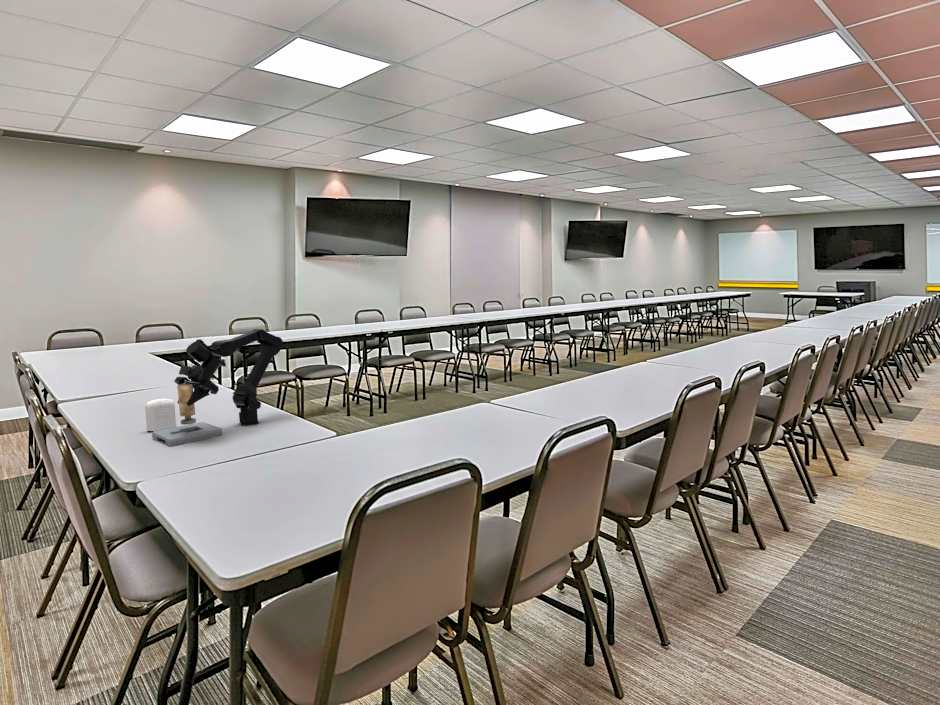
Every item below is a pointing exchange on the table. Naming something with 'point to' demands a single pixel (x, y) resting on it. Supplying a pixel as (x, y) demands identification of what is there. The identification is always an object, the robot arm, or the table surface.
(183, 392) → the ribbed peg
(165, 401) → the photo printer
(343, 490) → the table surface
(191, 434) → the keyhole plate
